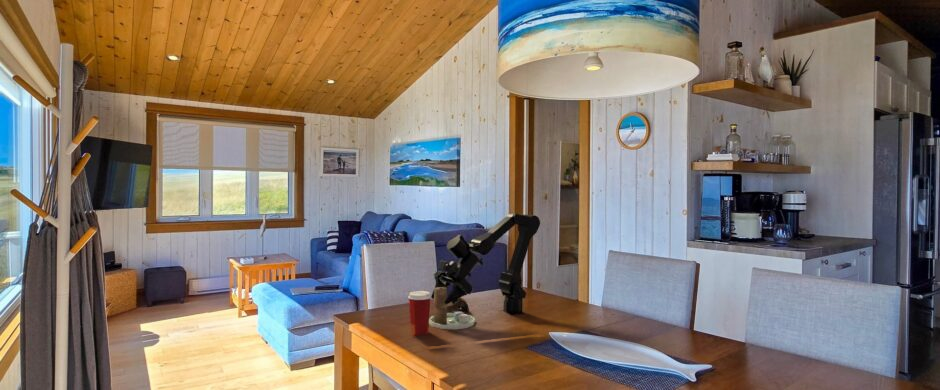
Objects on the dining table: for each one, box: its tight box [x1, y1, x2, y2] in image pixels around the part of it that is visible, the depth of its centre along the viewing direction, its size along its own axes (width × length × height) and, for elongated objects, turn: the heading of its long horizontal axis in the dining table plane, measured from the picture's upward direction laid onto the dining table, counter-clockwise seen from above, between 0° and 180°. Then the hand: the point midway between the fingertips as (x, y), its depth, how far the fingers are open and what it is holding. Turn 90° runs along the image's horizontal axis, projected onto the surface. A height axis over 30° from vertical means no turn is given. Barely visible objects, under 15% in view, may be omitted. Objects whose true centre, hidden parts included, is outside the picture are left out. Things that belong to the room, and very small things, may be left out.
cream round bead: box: [459, 313, 470, 324], centre depth 178 cm, size 4×4×2 cm
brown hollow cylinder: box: [447, 297, 470, 314], centre depth 193 cm, size 12×10×8 cm
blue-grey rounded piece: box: [453, 311, 465, 321], centre depth 182 cm, size 4×4×2 cm
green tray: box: [429, 312, 476, 330], centre depth 178 cm, size 16×16×2 cm
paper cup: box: [407, 290, 432, 338], centre depth 166 cm, size 8×8×14 cm
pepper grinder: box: [433, 287, 448, 325], centre depth 176 cm, size 4×4×13 cm
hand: (438, 300), depth 176 cm, fingers open, 9 cm apart
